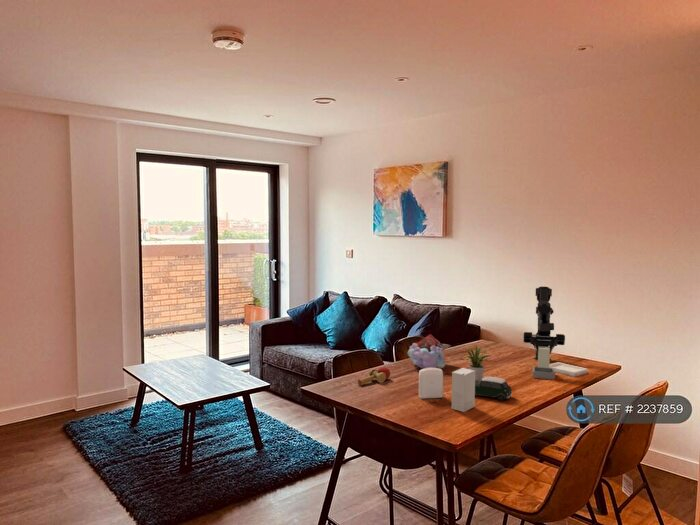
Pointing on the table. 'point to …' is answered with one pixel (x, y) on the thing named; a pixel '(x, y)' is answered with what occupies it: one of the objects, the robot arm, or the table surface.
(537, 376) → the holder
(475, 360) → the house plant
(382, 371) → the kendama
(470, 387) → the skincare box
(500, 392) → the miniature car
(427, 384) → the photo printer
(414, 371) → the table surface
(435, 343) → the lumpy lavender cluster
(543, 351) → the sage block
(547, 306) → the robot arm
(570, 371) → the tray
